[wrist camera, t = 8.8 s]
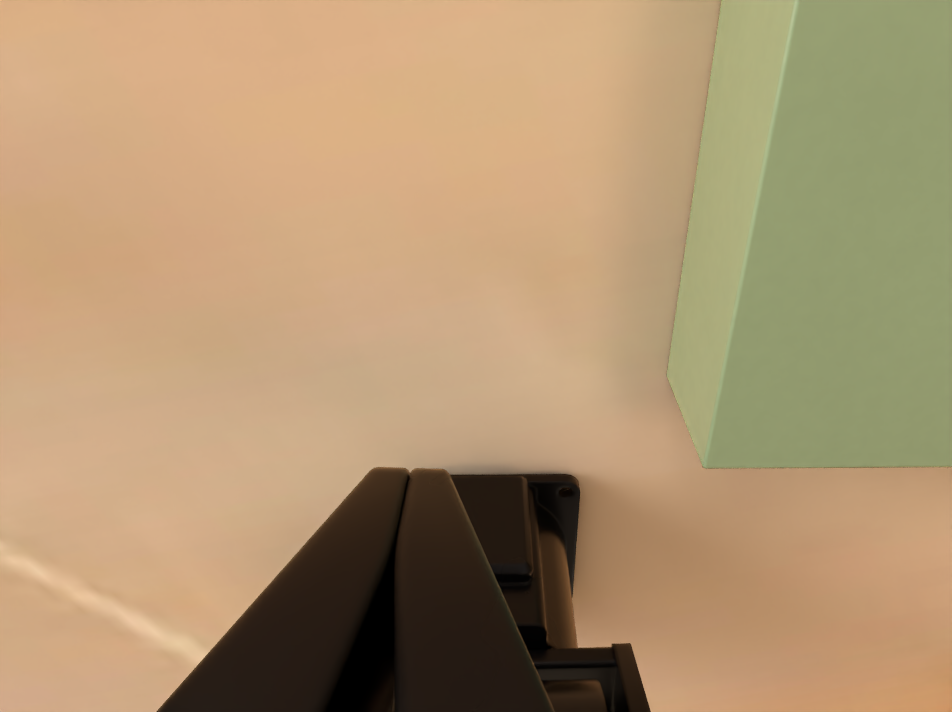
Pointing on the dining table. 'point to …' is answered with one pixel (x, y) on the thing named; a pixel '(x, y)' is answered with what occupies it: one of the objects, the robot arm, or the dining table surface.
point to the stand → (821, 240)
